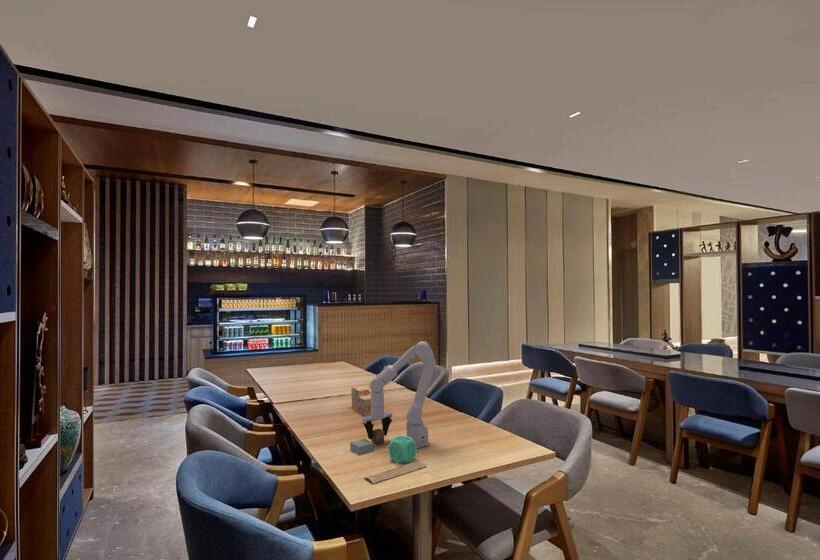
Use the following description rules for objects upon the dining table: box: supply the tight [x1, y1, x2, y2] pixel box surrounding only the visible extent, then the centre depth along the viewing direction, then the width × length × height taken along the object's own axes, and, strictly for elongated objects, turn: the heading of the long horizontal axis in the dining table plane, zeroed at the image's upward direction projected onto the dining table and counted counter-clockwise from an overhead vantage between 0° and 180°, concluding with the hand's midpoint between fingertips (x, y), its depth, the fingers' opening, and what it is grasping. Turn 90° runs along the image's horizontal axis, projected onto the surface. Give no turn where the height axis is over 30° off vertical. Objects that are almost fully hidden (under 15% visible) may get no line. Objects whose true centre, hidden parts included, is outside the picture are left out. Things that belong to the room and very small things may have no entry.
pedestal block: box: [349, 438, 375, 456], centre depth 177 cm, size 7×7×4 cm
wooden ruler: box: [363, 460, 428, 485], centre depth 154 cm, size 24×7×2 cm, turn 127°
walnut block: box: [370, 428, 385, 446], centre depth 186 cm, size 4×4×6 cm
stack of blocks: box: [351, 385, 371, 418], centre depth 238 cm, size 21×6×12 cm, turn 26°
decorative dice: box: [388, 435, 418, 464], centre depth 167 cm, size 8×8×8 cm
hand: (377, 436), depth 186 cm, fingers open, 7 cm apart
